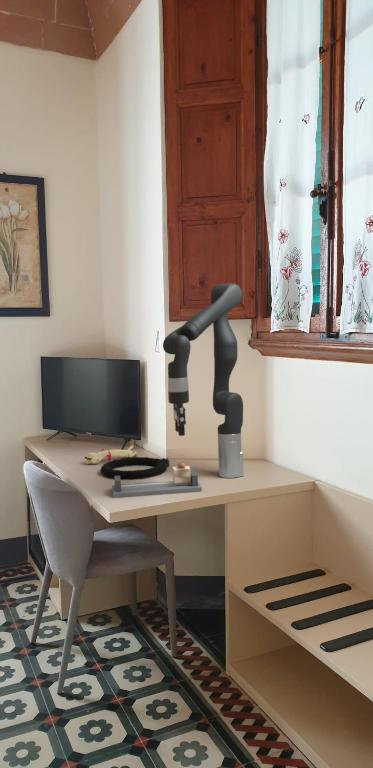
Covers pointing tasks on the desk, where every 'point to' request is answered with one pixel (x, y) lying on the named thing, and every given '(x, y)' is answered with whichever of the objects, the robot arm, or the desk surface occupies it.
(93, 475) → the desk surface
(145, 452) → the desk surface
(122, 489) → the rail board
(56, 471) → the desk surface
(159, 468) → the cable lock
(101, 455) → the cat figure
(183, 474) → the keeper
